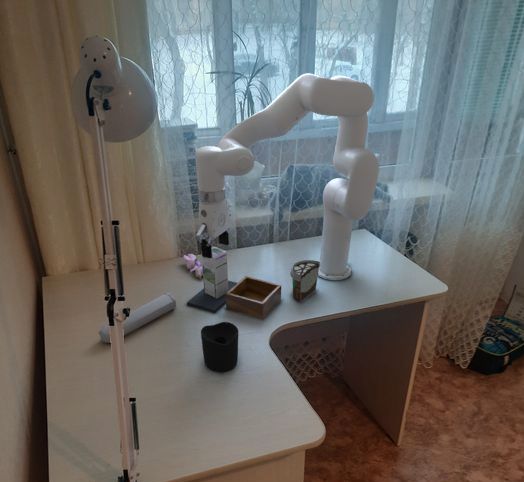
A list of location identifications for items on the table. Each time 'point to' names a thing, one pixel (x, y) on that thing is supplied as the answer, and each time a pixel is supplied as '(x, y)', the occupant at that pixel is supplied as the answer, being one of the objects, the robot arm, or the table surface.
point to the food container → (304, 278)
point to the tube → (143, 315)
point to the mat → (209, 300)
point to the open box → (253, 297)
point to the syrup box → (215, 273)
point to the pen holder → (220, 346)
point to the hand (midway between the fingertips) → (215, 250)
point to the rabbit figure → (194, 265)
